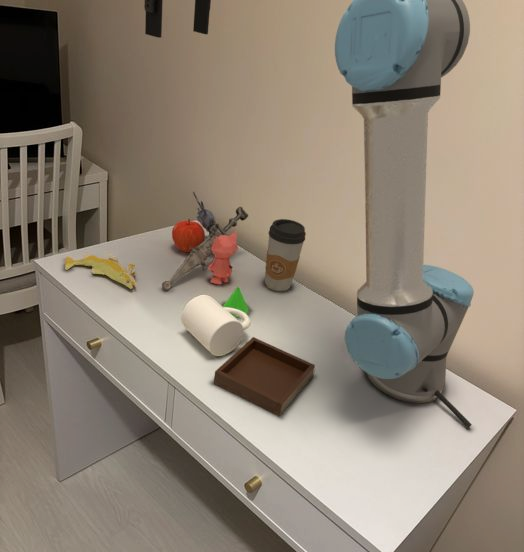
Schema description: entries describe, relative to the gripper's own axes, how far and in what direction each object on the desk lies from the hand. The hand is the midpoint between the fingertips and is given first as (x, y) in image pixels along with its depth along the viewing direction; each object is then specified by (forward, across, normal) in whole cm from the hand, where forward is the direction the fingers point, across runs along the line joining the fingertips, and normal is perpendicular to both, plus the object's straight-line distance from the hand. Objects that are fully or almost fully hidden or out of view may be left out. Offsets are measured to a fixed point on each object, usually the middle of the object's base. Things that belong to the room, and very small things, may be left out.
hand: (178, 34), depth 95 cm
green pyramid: (+49, 0, +18) cm, 53 cm away
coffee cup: (+49, -16, +20) cm, 56 cm away
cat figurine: (+49, -8, +9) cm, 51 cm away
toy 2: (+46, -18, +4) cm, 50 cm away
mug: (+49, +11, +21) cm, 55 cm away
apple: (+49, -15, -5) cm, 52 cm away
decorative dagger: (+49, +4, +2) cm, 49 cm away
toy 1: (+47, +3, -11) cm, 48 cm away
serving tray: (+49, +16, +35) cm, 62 cm away
